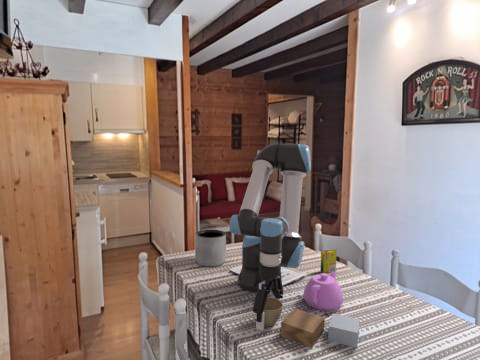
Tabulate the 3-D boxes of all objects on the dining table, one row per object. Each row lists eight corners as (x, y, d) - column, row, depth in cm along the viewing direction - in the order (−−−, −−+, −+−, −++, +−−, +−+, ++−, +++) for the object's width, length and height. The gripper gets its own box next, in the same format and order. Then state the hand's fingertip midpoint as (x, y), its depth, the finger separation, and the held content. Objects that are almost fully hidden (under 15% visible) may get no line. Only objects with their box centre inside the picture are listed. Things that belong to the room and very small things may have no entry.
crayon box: (332, 269, 171) (334, 247, 170) (336, 271, 168) (337, 249, 167) (319, 270, 169) (321, 248, 167) (323, 273, 166) (324, 250, 164)
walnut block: (280, 336, 112) (281, 322, 112) (294, 321, 121) (295, 308, 121) (312, 347, 106) (312, 333, 106) (323, 331, 115) (324, 317, 115)
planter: (231, 260, 180) (232, 232, 178) (213, 270, 166) (213, 239, 164) (207, 254, 188) (208, 227, 186) (188, 263, 175) (188, 234, 173)
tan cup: (281, 332, 115) (281, 312, 114) (252, 328, 117) (252, 308, 116) (283, 317, 124) (283, 298, 123) (256, 313, 126) (257, 295, 125)
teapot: (330, 320, 123) (332, 289, 121) (292, 307, 132) (293, 277, 131) (351, 298, 140) (353, 270, 139) (316, 287, 149) (317, 261, 148)
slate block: (328, 340, 110) (328, 326, 110) (332, 326, 119) (332, 313, 118) (356, 347, 107) (357, 333, 106) (358, 333, 115) (359, 319, 114)
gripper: (263, 276, 106) (261, 341, 109) (294, 255, 125) (291, 311, 128) (243, 271, 110) (241, 333, 113) (276, 251, 129) (273, 305, 132)
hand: (268, 321), depth 120 cm, fingers open, 11 cm apart
